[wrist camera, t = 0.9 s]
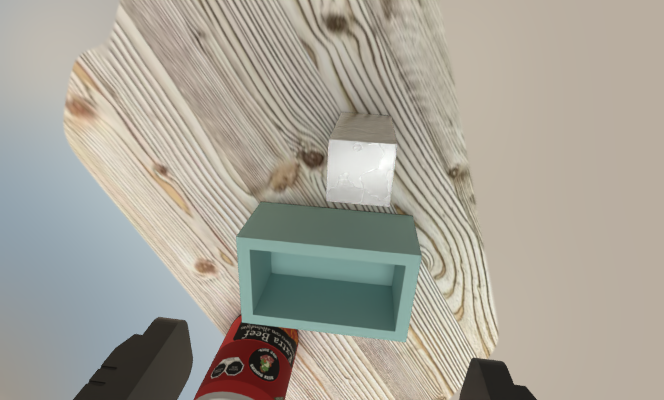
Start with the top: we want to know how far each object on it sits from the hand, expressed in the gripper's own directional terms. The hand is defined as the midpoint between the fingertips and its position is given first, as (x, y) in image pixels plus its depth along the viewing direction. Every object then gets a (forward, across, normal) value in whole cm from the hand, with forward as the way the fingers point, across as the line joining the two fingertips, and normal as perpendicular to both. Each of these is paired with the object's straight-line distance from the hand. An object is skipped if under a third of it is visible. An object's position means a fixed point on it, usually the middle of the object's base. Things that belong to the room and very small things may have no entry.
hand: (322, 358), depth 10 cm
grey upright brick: (+22, -1, 0) cm, 22 cm away
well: (+22, +1, +10) cm, 24 cm away
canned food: (+22, +8, +23) cm, 32 cm away
